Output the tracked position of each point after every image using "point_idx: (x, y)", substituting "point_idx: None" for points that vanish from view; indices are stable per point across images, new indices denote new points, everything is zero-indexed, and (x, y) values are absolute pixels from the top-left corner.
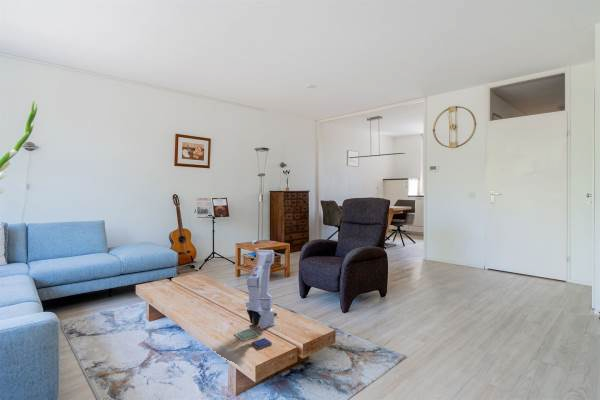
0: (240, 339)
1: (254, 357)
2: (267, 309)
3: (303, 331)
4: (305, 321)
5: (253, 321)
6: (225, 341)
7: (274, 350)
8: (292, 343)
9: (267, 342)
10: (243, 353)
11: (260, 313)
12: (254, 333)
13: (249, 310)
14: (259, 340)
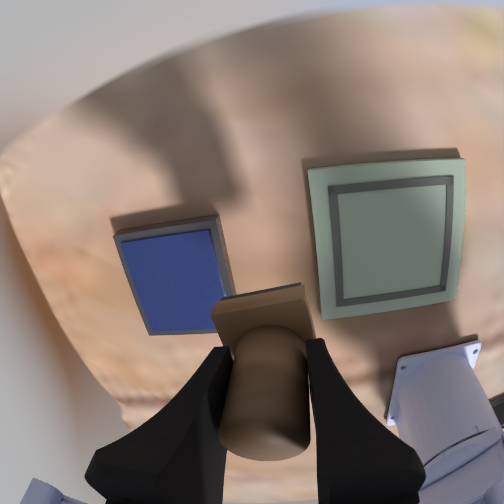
0: (351, 164)
1: (45, 172)
2: (421, 490)
3: (234, 468)
4: (317, 492)
5: (240, 375)
6: (383, 41)
7: (87, 307)
8: (137, 400)
9: (156, 317)
10: (109, 113)
11: (26, 494)
12: (362, 300)
13: (347, 499)
14: (210, 285)
